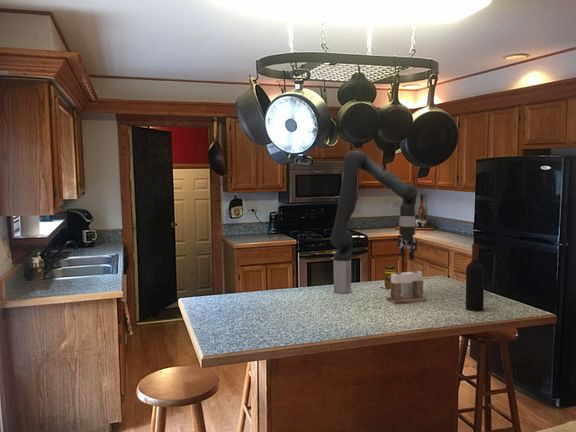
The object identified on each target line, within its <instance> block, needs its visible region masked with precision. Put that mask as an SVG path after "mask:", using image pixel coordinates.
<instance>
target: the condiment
mask: <svg viewBox="0 0 576 432" xmlns="http://www.w3.org/2000/svg"><path fill="white" fill-rule="evenodd" d="M395 273H397V272H396V267H395V266H394V265H387V266H385V267H384V275H383V276H384V286H385V289H384V290H387V289H391V274H395Z"/></svg>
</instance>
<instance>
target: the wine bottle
mask: <svg viewBox="0 0 576 432" xmlns="http://www.w3.org/2000/svg"><path fill="white" fill-rule="evenodd" d="M479 247H480V245H479V244H478V243H472V244H471V261H470V262H469V263H468V264H467V265H466V266H465V267H466V269H465V310H466V311H469V312H483V311H484V301H485V300H484V296H485V295H484V292H485V291H484V289H485V288H484V287H485V285H484V284H485V283H484V282H485V267H484V266H483V264H482V263H481V262H480V261H479V250H480V249H479Z"/></svg>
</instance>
